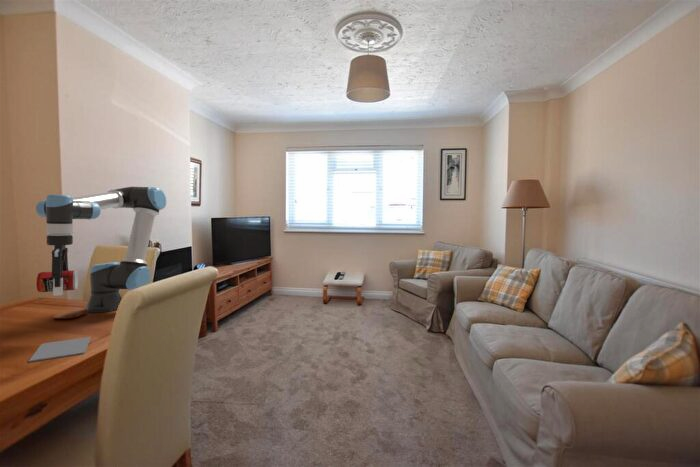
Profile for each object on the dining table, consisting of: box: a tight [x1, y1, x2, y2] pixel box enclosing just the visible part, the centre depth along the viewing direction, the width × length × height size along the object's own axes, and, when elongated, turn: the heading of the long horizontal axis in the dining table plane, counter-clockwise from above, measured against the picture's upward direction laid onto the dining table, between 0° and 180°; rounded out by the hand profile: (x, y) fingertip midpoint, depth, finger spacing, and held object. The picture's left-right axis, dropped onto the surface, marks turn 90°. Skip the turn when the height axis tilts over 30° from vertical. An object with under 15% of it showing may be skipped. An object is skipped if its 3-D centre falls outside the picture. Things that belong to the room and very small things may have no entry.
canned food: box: [36, 270, 79, 293], centre depth 126 cm, size 8×8×11 cm
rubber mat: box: [28, 336, 91, 363], centre depth 115 cm, size 16×14×1 cm
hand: (60, 292), depth 126 cm, fingers closed on canned food, 8 cm apart
